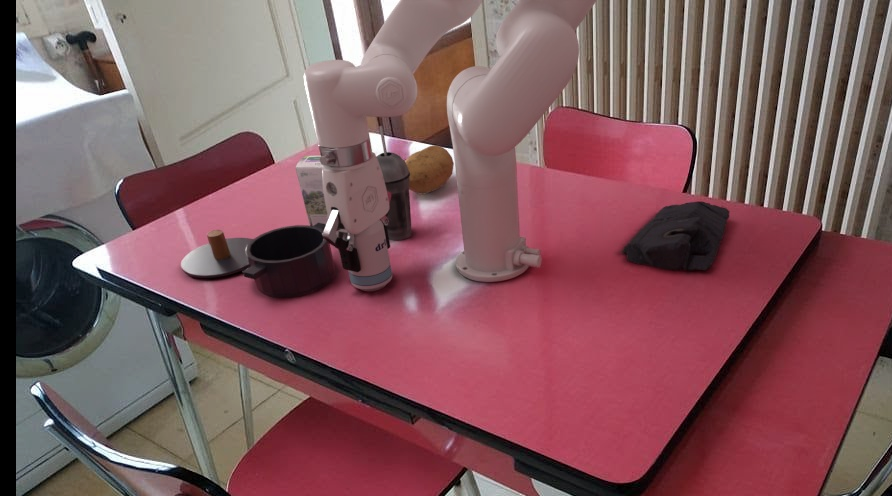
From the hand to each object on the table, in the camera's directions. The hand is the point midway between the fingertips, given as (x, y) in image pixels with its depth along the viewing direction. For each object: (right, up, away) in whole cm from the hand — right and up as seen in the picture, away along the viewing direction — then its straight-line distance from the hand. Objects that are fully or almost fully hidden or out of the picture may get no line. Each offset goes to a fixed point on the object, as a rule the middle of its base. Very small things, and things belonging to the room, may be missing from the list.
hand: (367, 257), depth 112 cm
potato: (+7, +19, +34) cm, 39 cm away
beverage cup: (+3, +7, +17) cm, 19 cm away
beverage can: (0, -4, +3) cm, 5 cm away
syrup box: (-11, +7, +20) cm, 24 cm away
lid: (-29, +2, +13) cm, 31 cm away
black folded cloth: (+53, +4, +8) cm, 54 cm away
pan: (-13, -2, +7) cm, 15 cm away
